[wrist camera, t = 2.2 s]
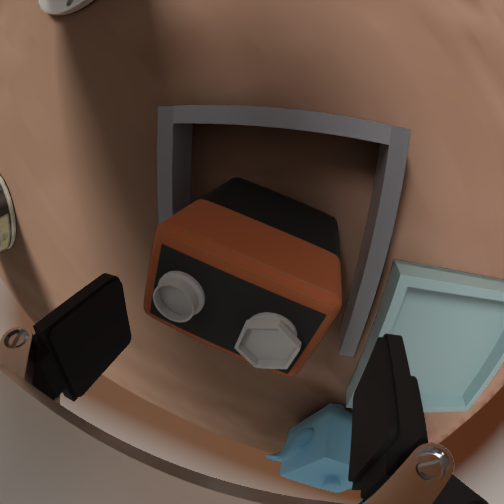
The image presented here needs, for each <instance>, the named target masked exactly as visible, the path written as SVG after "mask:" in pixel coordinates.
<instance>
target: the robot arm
mask: <svg viewBox="0 0 504 504" xmlns="http://www.w3.org/2000/svg"><path fill="white" fill-rule="evenodd" d="M92 1H94V0H38V2H39V5H40V7H41V9H42V10H43V11H44V12H45V13H48V14H53V15H66V14H70V13H73V12H75V11H78V10H79V9H81V8H83V7H85V6H86V5H88V4H90V3H91V2H92ZM33 327H34V330H35V333H36V334H34V335H33V334H32V332H31V330H30V329H28V328H27V327H16V328H12V329H10V330H9V331H7V332H6V333H5V334H4V335H3V337H2V339H1V341H0V504H341V503H334V502H327V501H319V500H312V499H305V498H298V497H292V496H287V495H281V494H276V493H271V492H267V491H262V490H258V489H253V488H249V487H245V486H241V485H237V484H233V483H230V482H226V481H223V480H219V479H216V478H213V477H209V476H206V475H204V474H201V473H198V472H194V471H192V470H189V469H186V468H184V467H181V466H178V465H176V464H173V463H170V462H168V461H165V460H163V459H161V458H158V457H156V456H153V455H151V454H149V453H147V452H145V451H142V450H140V449H138V448H136V447H134V446H132V445H130V444H127V443H125V442H123V441H121V440H120V439H118V438H116V437H114V436H112V435H110V434H108V433H106V432H104V431H103V430H101V429H99V428H97V427H95V426H94V425H92V424H90V423H88V422H87V421H85V420H83V419H82V418H80V417H78V416H77V415H75V414H73V413H72V412H70V411H69V410H67V409H66V408H64V407H63V406H61V405H60V394H61V393H62V392H63V394H64V396H66V397H67V398H69V399H71V400H72V401H75V400H76V399H77V398H78V397H81V396H82V395H84V393H85V392H86V391H87V390H88V389H89V388H90V387H91V385H92V384H93V383H94V382H95V381H96V380H97V379H98V377H100V375H101V374H102V373H103V372H104V371H105V370H106V369H107V368H108V366H109V365H110V364H111V363H112V362H113V361H114V360H115V359H116V358H117V356H118V355H119V354H120V353H121V352H122V351H123V350H124V349H125V348H126V347H127V345H128V344H129V343H130V341H131V331H130V326H129V321H128V316H127V310H126V304H125V298H124V292H123V286H122V283H121V282H120V280H119V278H118V277H117V276H114V275H110V274H107V273H104V274H102V275H101V276H99V277H98V278H97V279H95V280H94V281H92V282H91V283H90V284H88V285H87V286H85V287H84V288H83V289H81V290H80V291H79V292H77V293H76V294H74V295H73V296H72V297H70V298H69V299H68V300H66V301H65V302H64V303H62V304H61V305H60V306H58V307H57V308H56V309H54V310H53V311H52V312H50V313H49V314H48V315H47V316H45V317H44V318H43V319H41V320H40V321H39V322H38V323H36V324H35V325H34V326H33ZM453 471H454V460H453V457H452V455H451V453H450V452H449V451H448V450H447V449H446V448H445V447H443V446H442V445H439V444H436V443H428V438H427V431H426V424H425V418H424V412H423V406H422V400H421V395H420V390H419V385H418V381H417V378H416V377H415V376H411V374H410V369H409V364H408V359H407V355H406V351H405V346H404V342H403V338H402V336H401V335H394V334H387V333H386V334H384V336H383V337H378V339H377V341H376V343H375V346H374V348H373V351H372V353H371V355H370V358H369V360H368V363H367V365H366V367H365V369H364V372H363V374H362V376H361V378H360V381H359V383H358V385H357V387H356V389H355V392H354V395H353V410H352V433H351V449H350V462H349V473H348V481H349V482H353V485H352V490H361V498H362V500H361V501H360V502H359V503H358V504H488V503H487V501H485V500H484V499H483V498H482V497H480V496H479V495H478V494H476V493H475V492H474V491H473V490H471V489H470V488H469V487H468V486H466V485H465V484H464V483H462V482H461V481H460V480H459V479H457V478H456V477H455V476H454V475H452V473H453Z"/></svg>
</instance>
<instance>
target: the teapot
mask: <svg viewBox="0 0 504 504" xmlns="http://www.w3.org/2000/svg"><path fill="white" fill-rule="evenodd" d="M351 433H352V413H351V412H349V411H347V410H345V409H344V406H343V405H342V404H332V403H329V404H328V405H326V406H325V407H323V408H322V409H320V410H319V411H317V412H316V413H314V414H313V415H311V416H309V417H308V418H306V419H305V420H303V421H301V422H300V423H298V424H296V425H295V426H293V427H291V428H290V429H289V432H288V437H287V441H286V443H285V445H284V447H283V448H282V450H281V451H280V452H279V453H277V454H272V455H265V457H266V458H268V459H270V460H273V461H278V462H282V464H281V469H280V472H279V475H280V476H283V477H285V478H289V479H291V480H294V481H297V482H300V483H303V484H307V485H310V486H313V487H317V488H320V489H324V490H328V491H332V492H336V493H339V492H341V491H344V490H347V489H350V488H352V485H353V482H349V481H348V473H349V462H350V449H351Z"/></svg>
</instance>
